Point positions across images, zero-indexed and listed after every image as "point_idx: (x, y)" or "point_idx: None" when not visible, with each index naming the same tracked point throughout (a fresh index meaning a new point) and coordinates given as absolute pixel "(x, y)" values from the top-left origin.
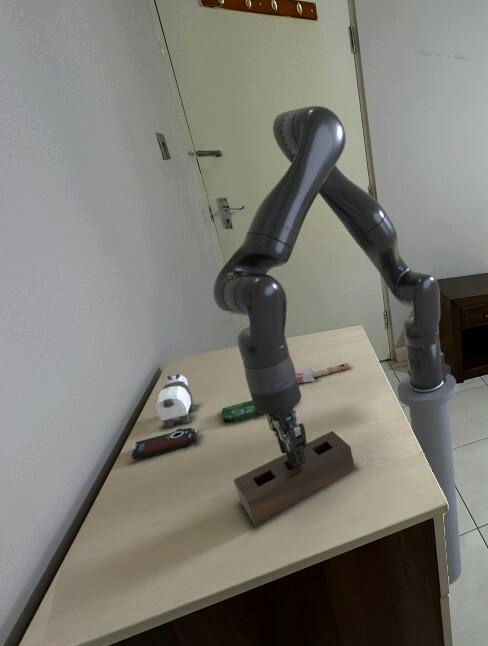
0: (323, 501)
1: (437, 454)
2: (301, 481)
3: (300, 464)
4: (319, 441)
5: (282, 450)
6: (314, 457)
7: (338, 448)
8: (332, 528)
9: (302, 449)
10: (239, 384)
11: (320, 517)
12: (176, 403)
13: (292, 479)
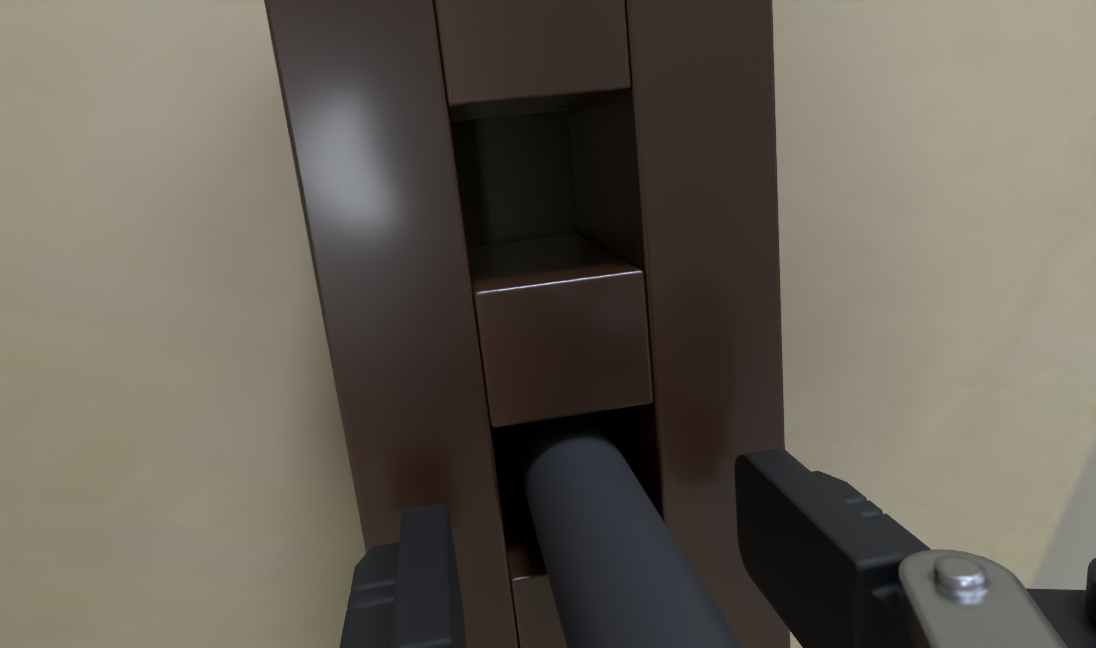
0: (797, 311)
1: None
2: None
3: (612, 443)
4: (394, 179)
5: (464, 638)
6: (648, 316)
7: (694, 45)
8: (1032, 335)
9: (873, 530)
10: None
11: (906, 366)
12: None
13: None
